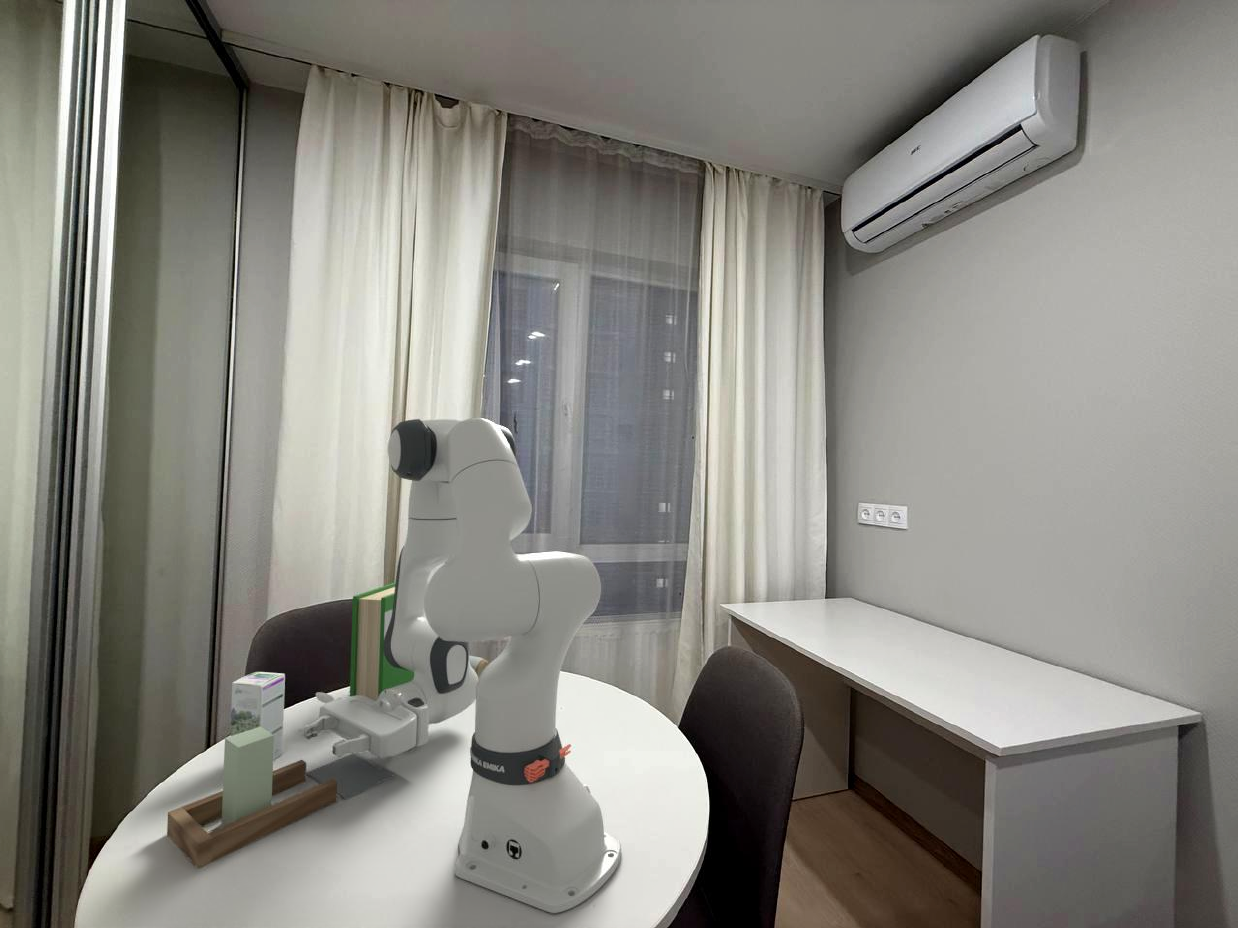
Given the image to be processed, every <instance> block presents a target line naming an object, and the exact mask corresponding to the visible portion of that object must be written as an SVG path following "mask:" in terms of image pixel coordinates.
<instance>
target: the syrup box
mask: <svg viewBox="0 0 1238 928" xmlns="http://www.w3.org/2000/svg"><path fill="white" fill-rule="evenodd" d="M285 682H286V674H285V673H282V672H281V673H278V672H267V671H266V672H265V671H255V672H252V673H249V674H247V675H245V676H242V677H240V678H239V679H237V680H234V681H233V682H231V683H232V684H231V707H230V709H231V710H230V711H231V714H230V736H233V735H236V734H239V733H242V732H245V731H248V730H251V729H254V728H257V727H262V728H263V729H265V730H267V731H268V732H270V733H271V734H273V735H274V750H273V762H274V761H275V760H277V759H279V758H280V757H281V756H283V754H284V751H283V750H284V719H285V718H284V715H285V714H284V713H285V710H284V709H285V689H286V686H285Z"/></svg>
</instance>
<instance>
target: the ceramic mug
mask: <svg viewBox="0 0 1238 928" xmlns="http://www.w3.org/2000/svg"><path fill="white" fill-rule="evenodd" d="M469 662H470V665H471V667H472V668H473V670H474V671H475V672H476V674H477V676H478V679H479V677H480V675H481V673H482V672H483V670H484V669H485V668H486V667H487V666H488V665H489V664H490V663H489V661H488V660H487V659H485V658H483V657H479V656H474V655H470V654H469Z"/></svg>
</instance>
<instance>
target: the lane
mask: <svg viewBox="0 0 1238 928" xmlns="http://www.w3.org/2000/svg"><path fill="white" fill-rule="evenodd" d="M306 772H307V762H306V761H305V760H303V759H299V760H298V761H295V762H294V761H293V762H292V763H290V764H287V765H284V766H282V767H279V768H276V769H274V770H273V776H272V796H274V795H277V794H279V793H282V792H283V791H286V790H289V789H291V788H293V787H295V786H298V785H300V784H302V783H305V782H306V781H307V780H306V779H307V778H306V776H307V775H306ZM337 798H338V795H337V781H335V780H333V779H330V780H328V781H325V782H323V783H321V784H320V783H318V784H317V785H314V786H312V787H309V788H307V789H305V790H303V791H301V792H298V793H297V794H294V795H292V796H289V797H287V798H284V799H282V800H280V801H278V802H276V803H274V804H271V806H269V807H266V808H264V809H262V810H260V811H257V812H255V813H253V814H250V815H248V816H246V817H244V818H241V819H239V820H237V821H235V822H232V823H230V824H228V825H225V826H223V825H222V826H221V827H219V828H217V829H214V830H212V831H210V832H208V831H207V830H205V828H204V827H203V826H204V825H206V824H209V823H211V822H214V821H215V820H218V819H220V818H221V819H222V799H223V790H221V791H218V792H215V793H213V794H211V795H208V796H205V797H203V798H201V799H198V800H195V801H192V802H190V803H188V804H185V805H182V806H180V807H178V808H175V809H172V810H169V811H168V812H167V826H166V834H167V836H168V837H169V839H170V840H171V841H172V842H173V843H174V844H175V845H176V847H178V849H180V851H181V852H182V853H183V854H184V855H185V856H186V857H187V859H188V860H189V861H190V862H191V863H192V864H193V865H194V866H195V868H196V869H199V868H201V867H203V866H205V865H207V864H210V863H212V862H214V861H217V860H218V859H220V858H222V857H225V856H226V855H228V854H230V853H233V852H235V851H238V850H239V849H241V848H243V847H246V846H247V845H249V844H251V843H253V842H255V841H257V840H260V839H262V838H264V837H266V836H268V835H270V834H272V833H274V832H277V831H279V830H281V829H283V828H285V827H288V826H289V825H291V824H293V823H295V822H297V821H300V820H301V819H304V818H305V817H308V816H310V815H312V814H314V813H317V812H318V811H320V810H323V809H324V808H326V807H329V806H331V805H334V804H335V803H337V801H338V800H337Z"/></svg>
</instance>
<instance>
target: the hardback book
mask: <svg viewBox="0 0 1238 928" xmlns="http://www.w3.org/2000/svg"><path fill="white" fill-rule="evenodd" d="M395 583H396V581H395V582H392V583H389V584H387V585H383V586H380V587H378V588H374V589H372V590H367V591H365V592H362V593H360V594H357V595H354V596H352V612H351V613H352V616H351V617H352V618H351V619H352V620H351V643H350V644H351V646H350V649H351V651H350V672H349V673H350V674H349V675H350V676H349V677H350V678H349V697H351V696H357V695H362V696H366V697H368V698H371V699H373V700H375V701H377V700H378V697H379V695H380V694H381V692H382V691H384V690H386V689H389V688H392V687H395V686H398V685H401V684H404V683H407V682H410V681H412V680H413V678H414V672H412V671H409V670H404V669H400V668H396V667H393V666H392V665H390V664H389V663H388V661H387V660H386V658H385V655H384V651H383V644H384V638H385V635H386V632H387V629H388V626H389V624H390V620H391V616H392V610H393V601H394V592H395Z"/></svg>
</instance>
